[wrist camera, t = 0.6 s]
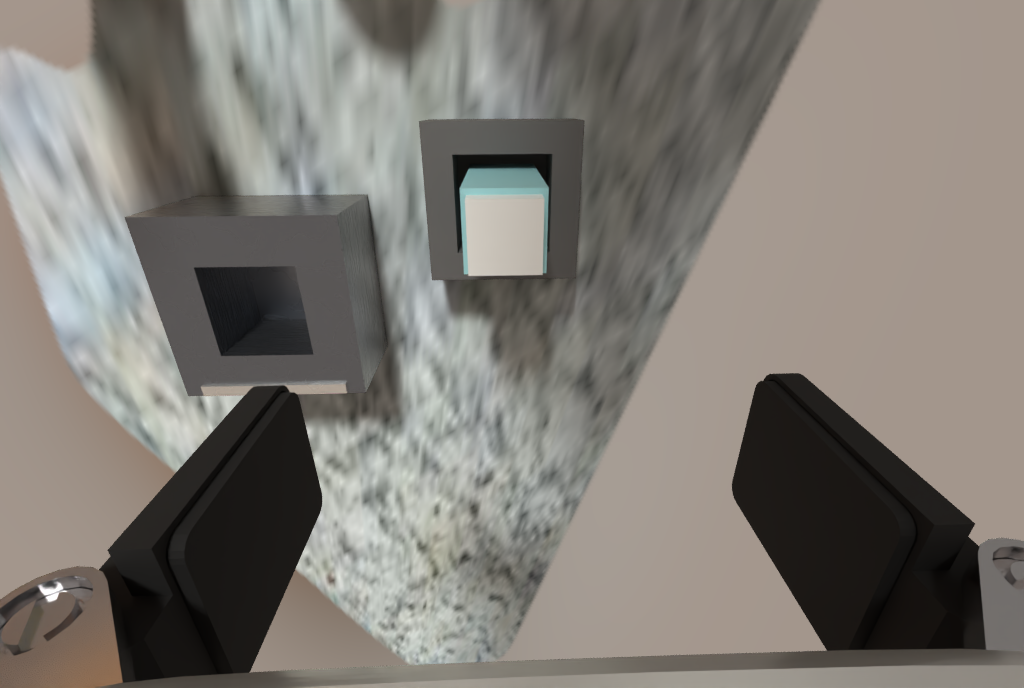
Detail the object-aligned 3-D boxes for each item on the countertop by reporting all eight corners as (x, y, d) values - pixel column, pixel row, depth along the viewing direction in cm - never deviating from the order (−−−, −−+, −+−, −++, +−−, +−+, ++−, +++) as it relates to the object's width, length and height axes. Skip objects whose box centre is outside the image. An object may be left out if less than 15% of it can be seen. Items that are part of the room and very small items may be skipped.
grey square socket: (429, 119, 27) (419, 121, 23) (572, 118, 27) (584, 120, 23) (439, 259, 30) (432, 280, 27) (566, 258, 30) (575, 278, 27)
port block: (195, 196, 28) (121, 218, 23) (367, 194, 28) (335, 215, 23) (239, 348, 33) (186, 397, 27) (387, 345, 33) (364, 394, 27)
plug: (470, 164, 27) (457, 192, 18) (533, 163, 27) (551, 191, 18) (473, 226, 28) (462, 281, 19) (532, 226, 29) (548, 280, 20)
